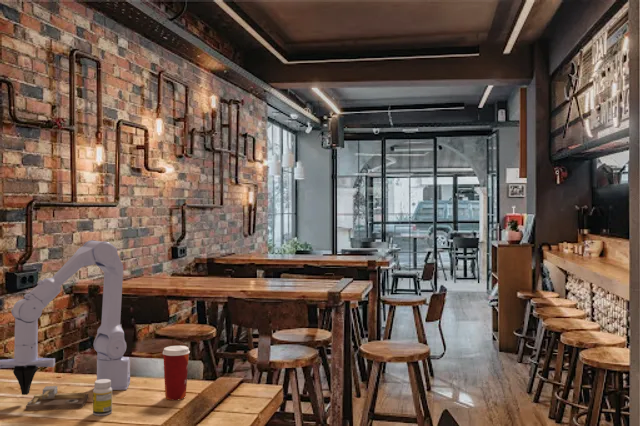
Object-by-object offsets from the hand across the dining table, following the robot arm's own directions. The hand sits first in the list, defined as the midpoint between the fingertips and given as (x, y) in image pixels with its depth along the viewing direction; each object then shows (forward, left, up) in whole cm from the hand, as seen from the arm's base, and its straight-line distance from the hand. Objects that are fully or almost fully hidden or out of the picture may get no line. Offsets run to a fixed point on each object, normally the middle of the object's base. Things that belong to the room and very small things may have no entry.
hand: (25, 393), depth 168 cm
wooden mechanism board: (-9, +2, -3) cm, 9 cm away
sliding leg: (-6, +2, -1) cm, 7 cm away
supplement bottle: (-22, +11, -3) cm, 25 cm away
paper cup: (-40, 0, -3) cm, 40 cm away
